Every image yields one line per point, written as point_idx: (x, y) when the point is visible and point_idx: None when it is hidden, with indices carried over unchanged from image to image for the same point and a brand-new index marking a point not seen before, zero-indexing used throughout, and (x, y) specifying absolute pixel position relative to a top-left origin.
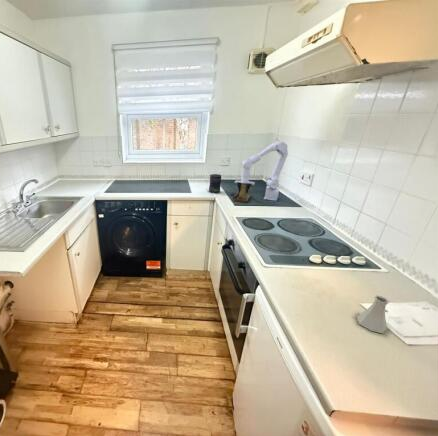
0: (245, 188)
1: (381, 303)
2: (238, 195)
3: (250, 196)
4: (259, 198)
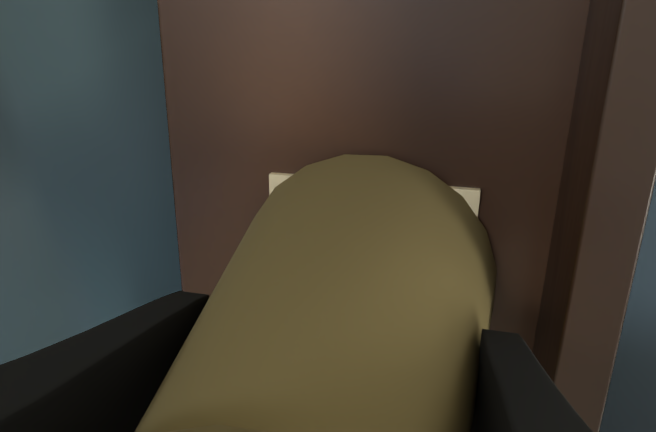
0: (146, 425)
1: None
2: None
3: None
4: None
